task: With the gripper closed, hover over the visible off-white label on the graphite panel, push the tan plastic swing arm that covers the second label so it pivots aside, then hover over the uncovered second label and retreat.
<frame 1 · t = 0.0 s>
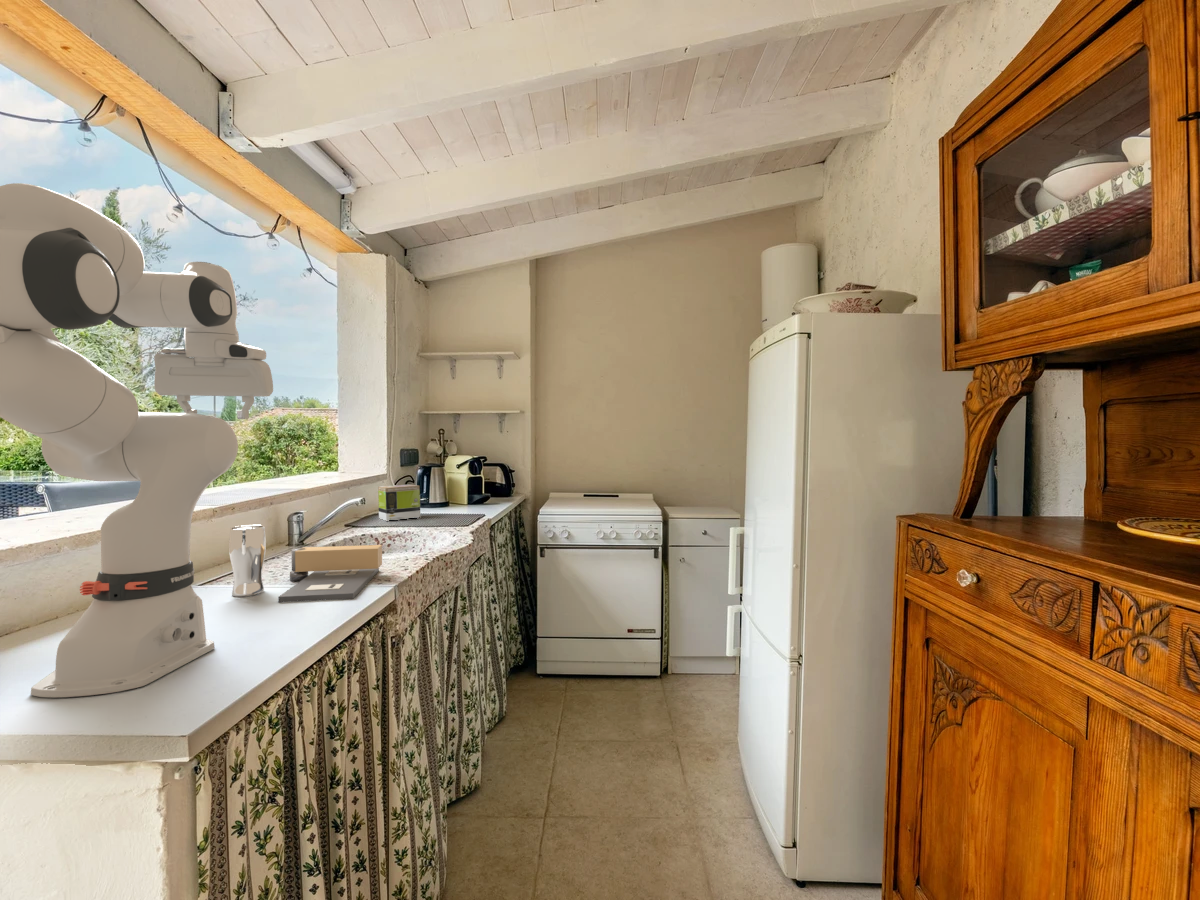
hand: (217, 418, 111), 39 cm above the countertop, tool pointing down, fingers open, 8 cm apart
pivot post: (299, 579, 137), on the countertop
swing arm: (336, 558, 138), point 5 cm above the countertop, hinge at 0.0°
label panel: (334, 584, 132), on the countertop
beer glass: (248, 594, 125), on the countertop
tea box: (399, 519, 241), on the countertop
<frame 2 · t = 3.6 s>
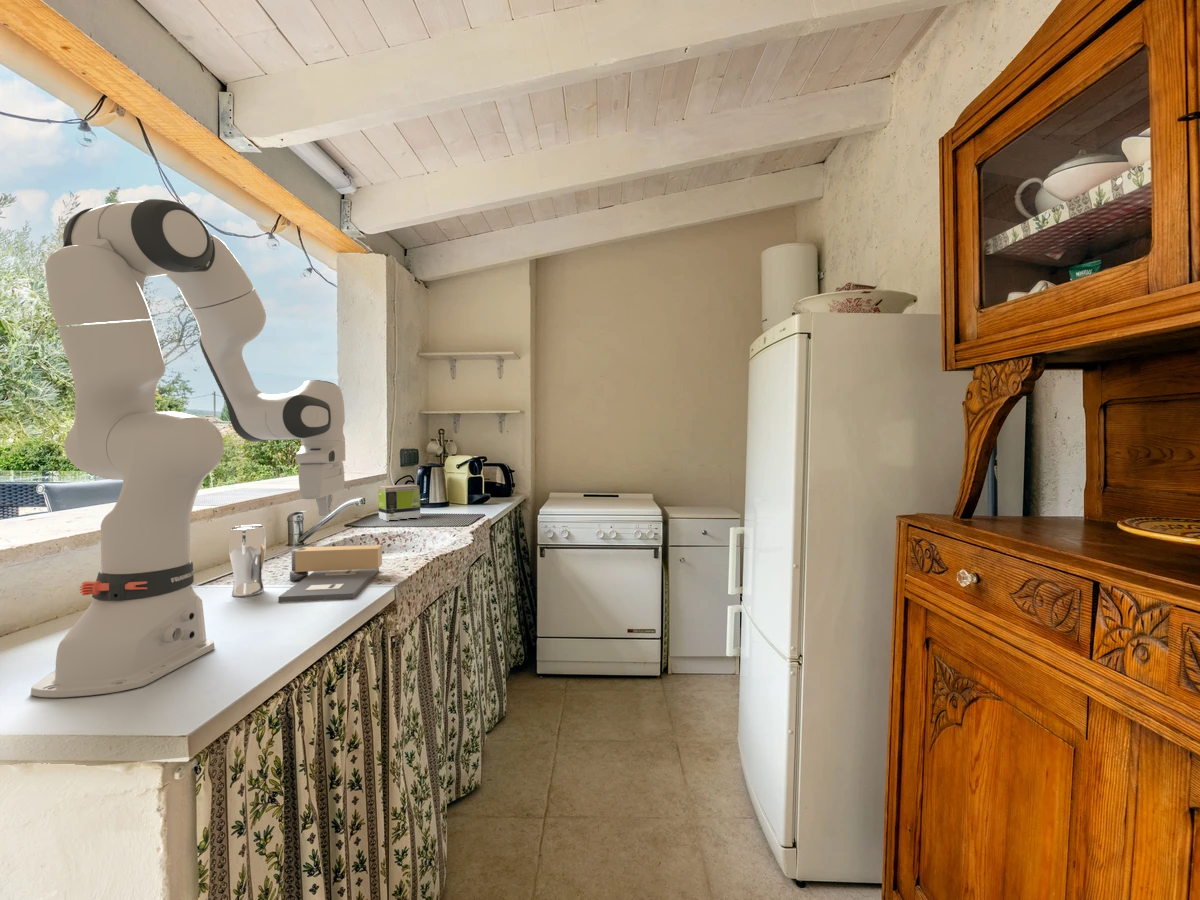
hand: (325, 514, 125), 18 cm above the countertop, tool pointing down, fingers closed
nothing on the countertop moved.
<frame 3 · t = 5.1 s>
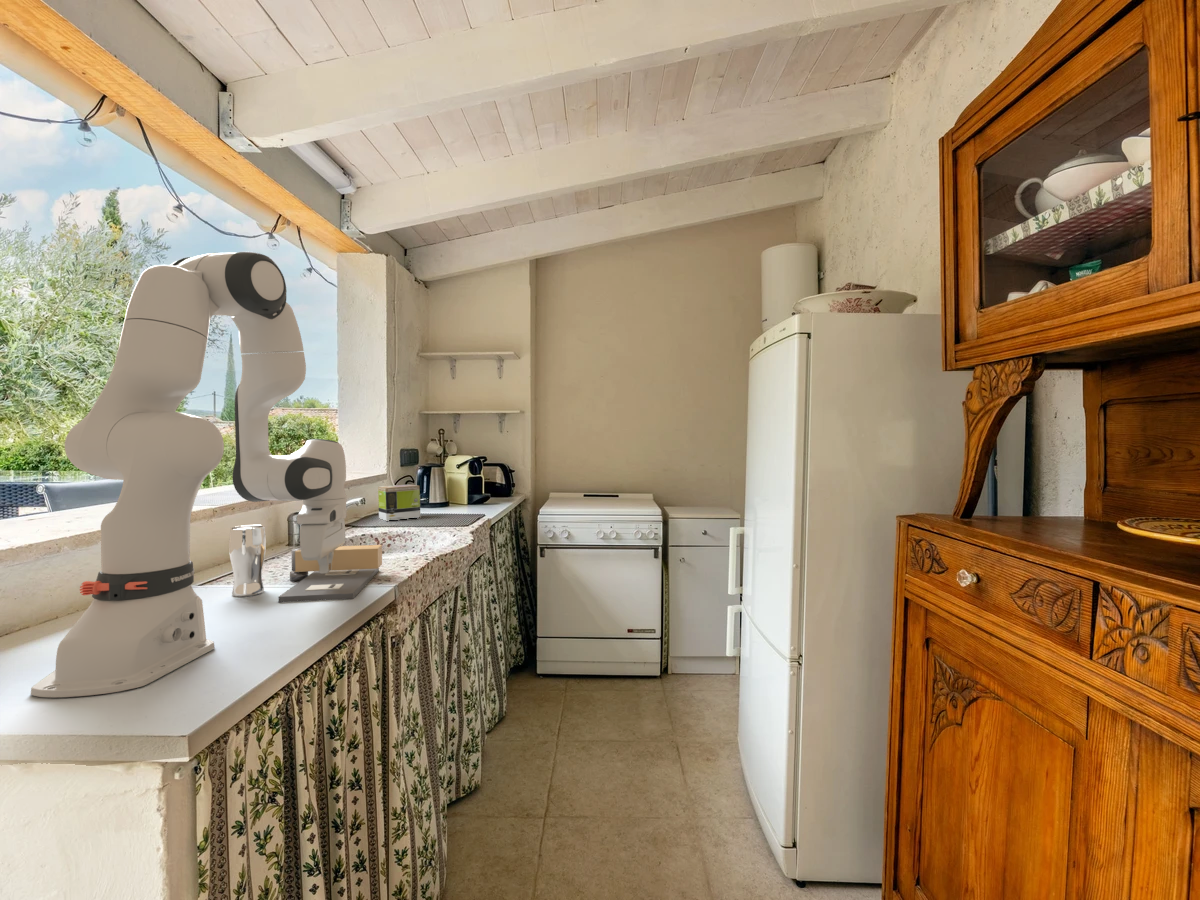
hand: (325, 571, 125), 5 cm above the countertop, tool pointing down, fingers closed
nothing on the countertop moved.
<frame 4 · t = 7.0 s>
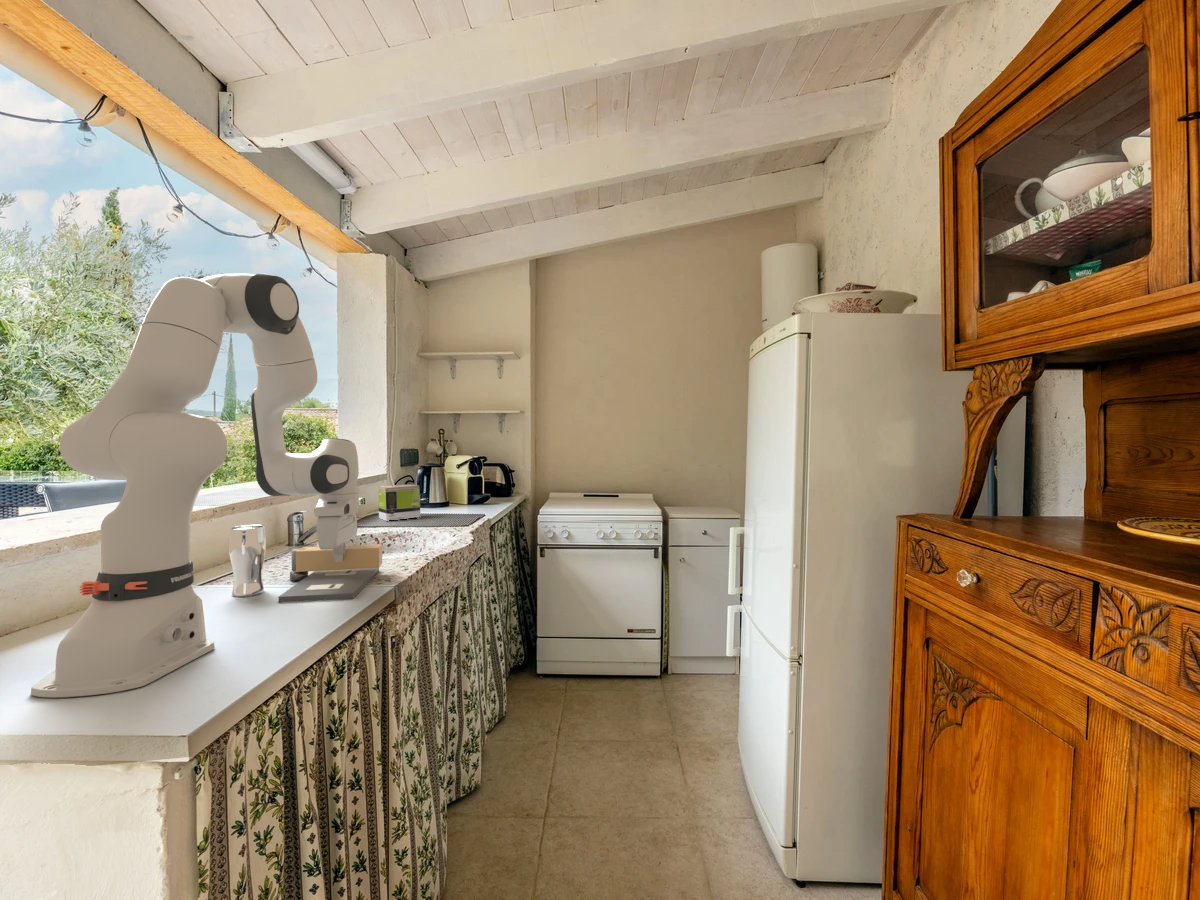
hand: (339, 561, 135), 5 cm above the countertop, tool pointing down, fingers closed
swing arm: (336, 557, 138), point 5 cm above the countertop, hinge at 2.8°, touching gripper
everything else where it was.
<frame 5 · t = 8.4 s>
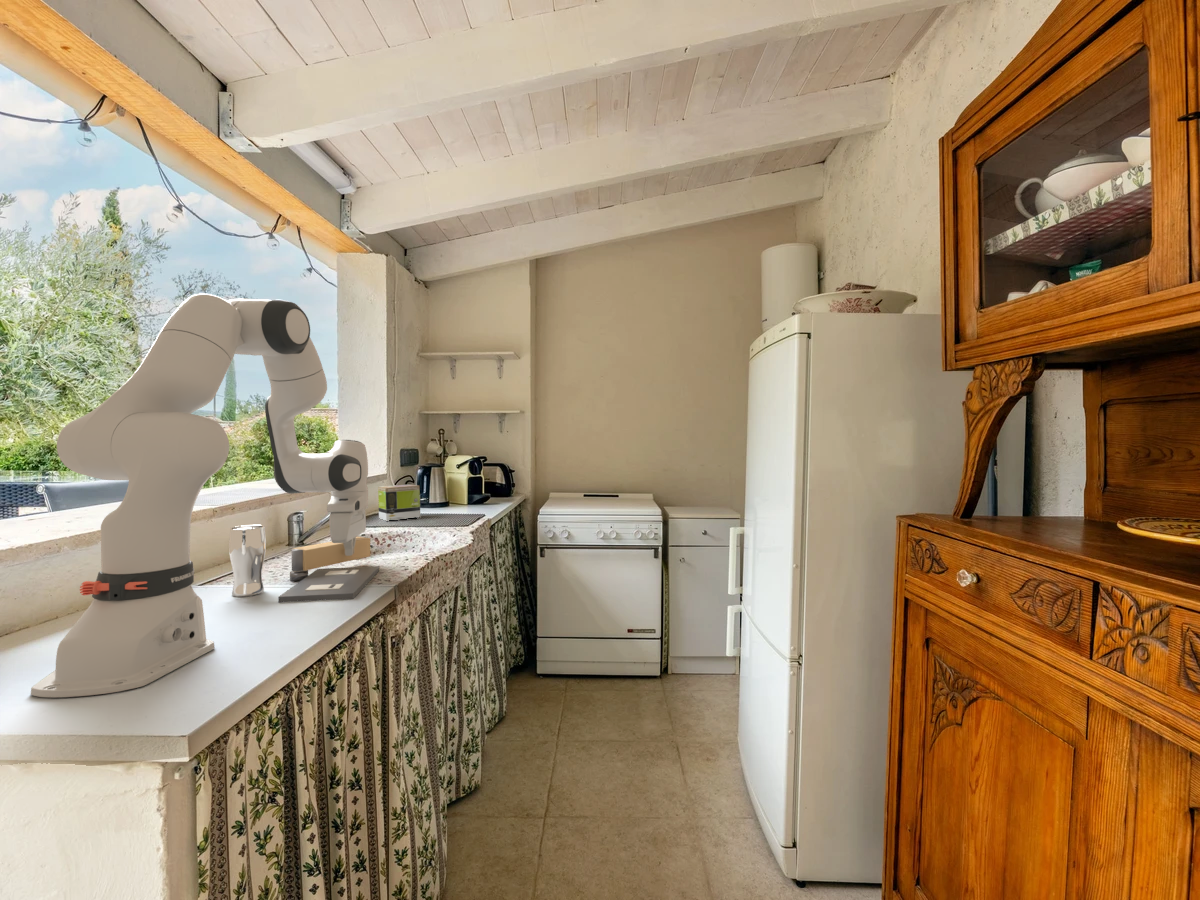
hand: (349, 555, 144), 4 cm above the countertop, tool pointing down, fingers closed
swing arm: (330, 553, 144), point 5 cm above the countertop, hinge at 51.4°, touching gripper
everything else where it was.
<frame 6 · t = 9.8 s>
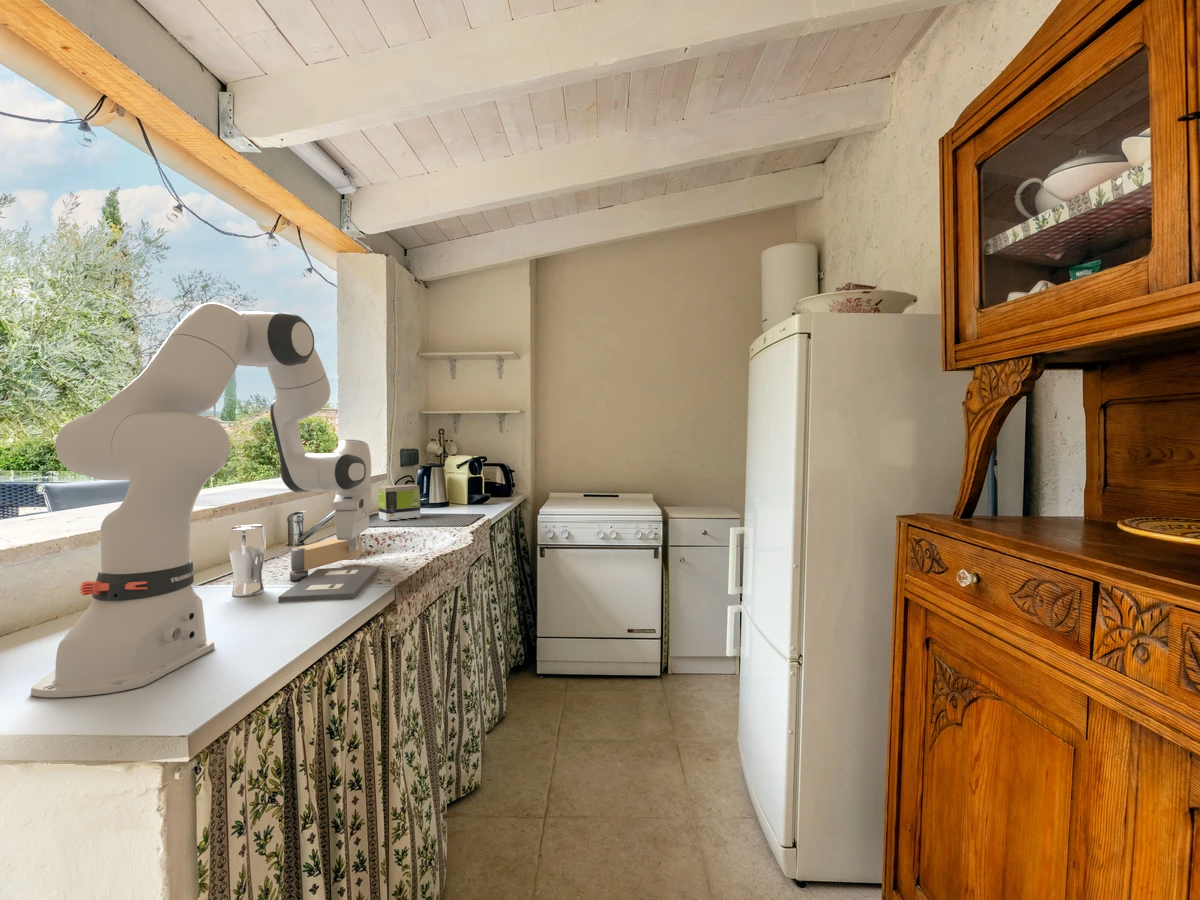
hand: (354, 551, 149), 5 cm above the countertop, tool pointing down, fingers closed
swing arm: (325, 552, 145), point 5 cm above the countertop, hinge at 62.6°, touching gripper
everything else where it was.
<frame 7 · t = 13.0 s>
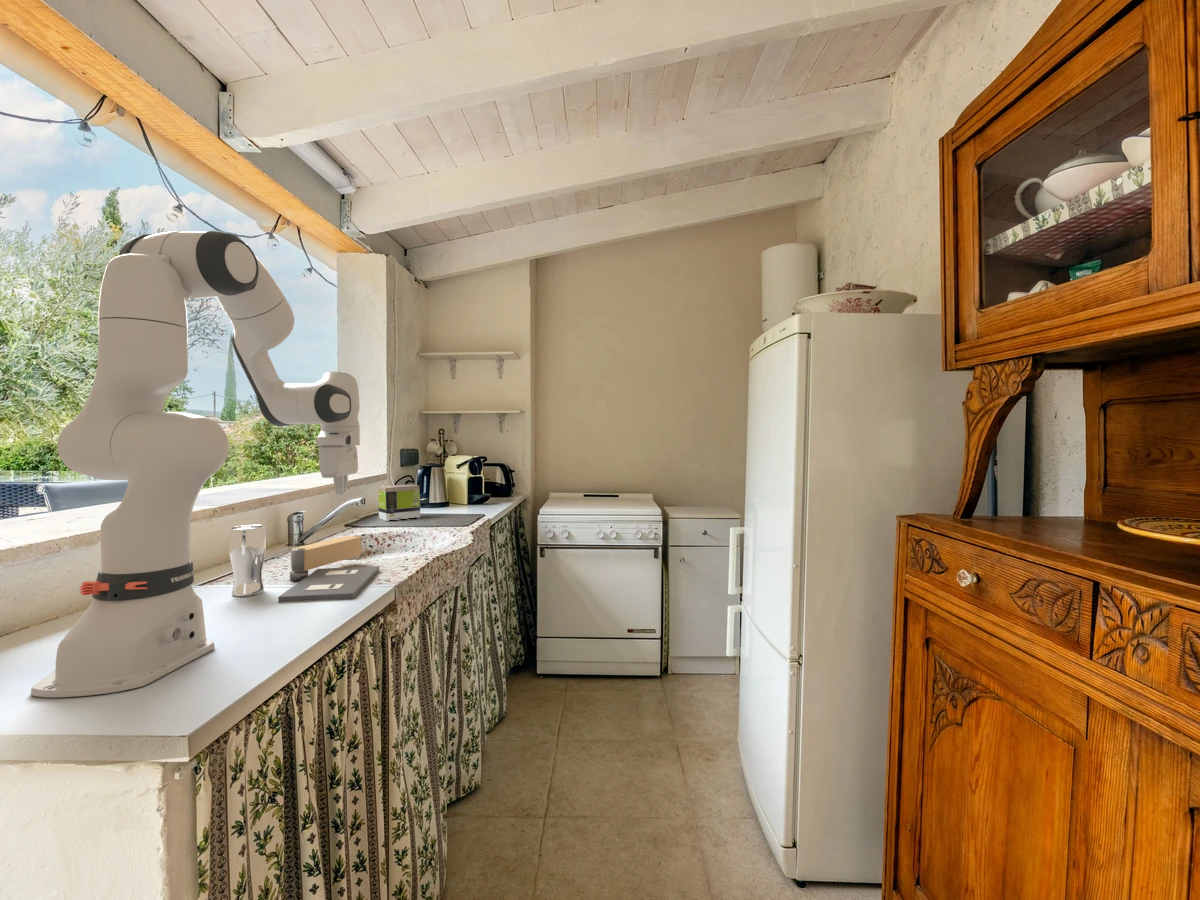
hand: (341, 493, 138), 21 cm above the countertop, tool pointing down, fingers closed
swing arm: (325, 552, 145), point 5 cm above the countertop, hinge at 62.9°
everything else where it was.
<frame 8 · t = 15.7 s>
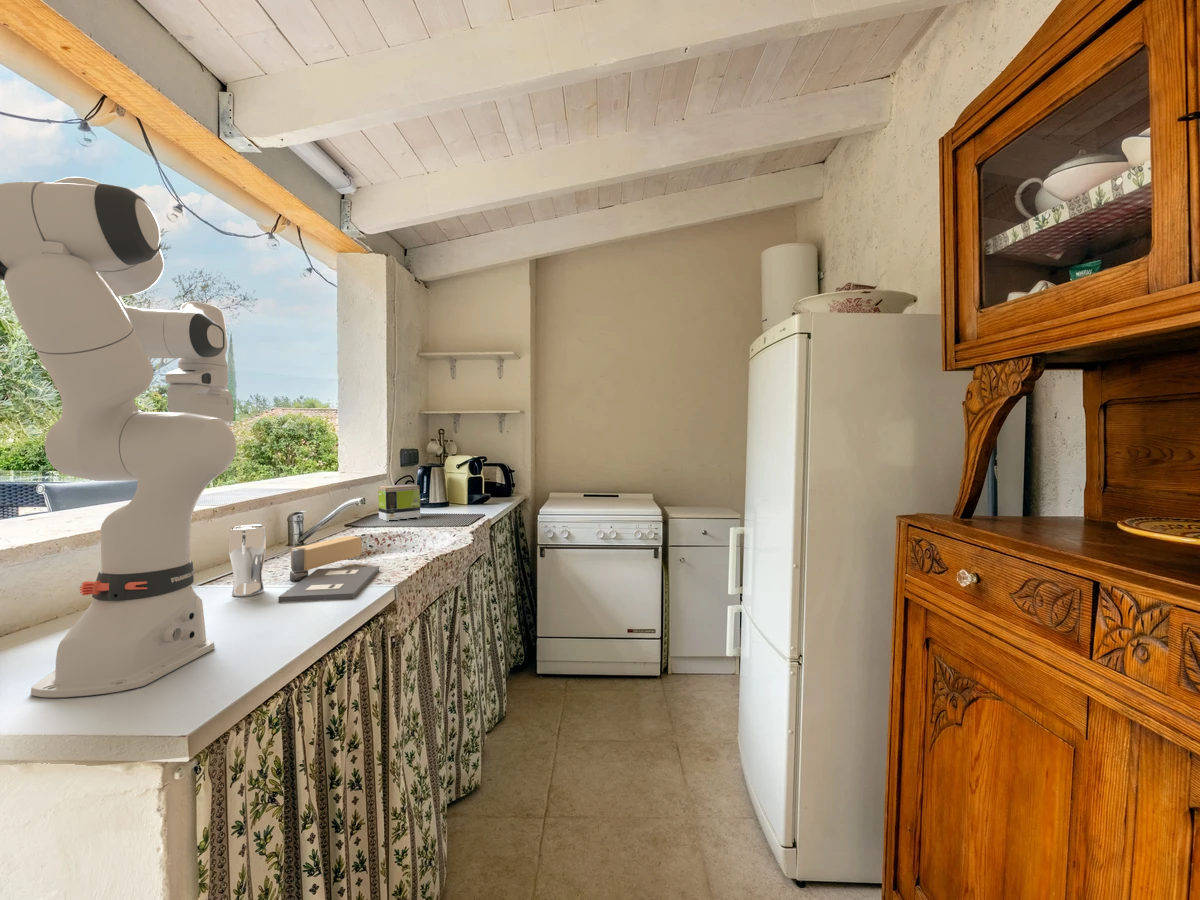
hand: (204, 442, 121), 34 cm above the countertop, tool pointing down, fingers closed
nothing on the countertop moved.
at the end: swing arm at +63° (first picture: +0°) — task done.
